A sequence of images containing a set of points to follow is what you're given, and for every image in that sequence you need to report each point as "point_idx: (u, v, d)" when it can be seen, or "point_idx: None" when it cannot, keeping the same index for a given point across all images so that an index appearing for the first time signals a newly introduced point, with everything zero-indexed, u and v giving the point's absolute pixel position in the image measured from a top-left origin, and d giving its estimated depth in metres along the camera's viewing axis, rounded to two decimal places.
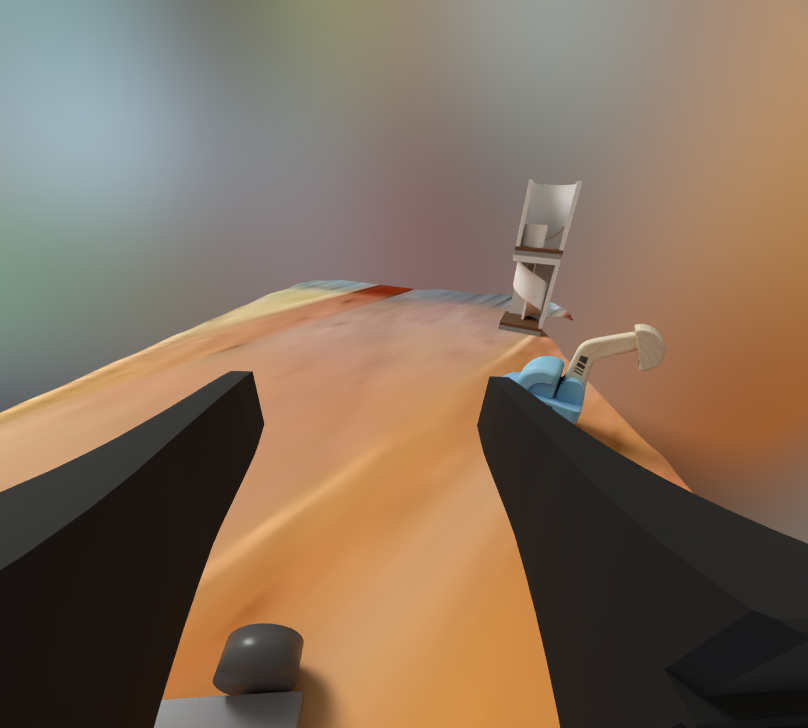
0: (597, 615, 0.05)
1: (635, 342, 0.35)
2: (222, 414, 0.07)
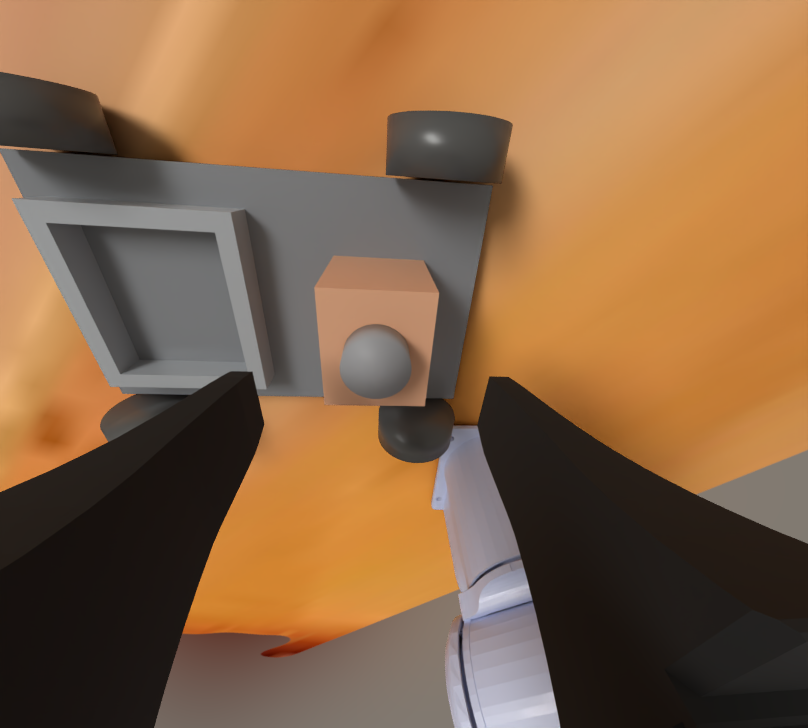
0: (597, 615, 0.05)
1: None
2: (222, 414, 0.07)
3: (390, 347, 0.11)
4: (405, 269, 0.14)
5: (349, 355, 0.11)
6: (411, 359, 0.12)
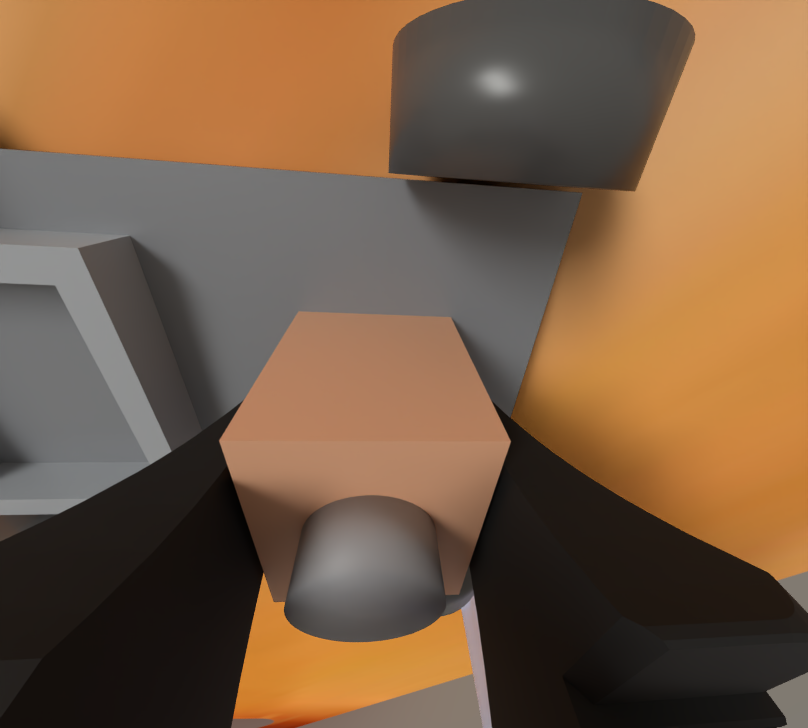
0: (518, 619, 0.05)
1: None
2: None
3: (400, 579, 0.05)
4: (424, 347, 0.07)
5: (304, 597, 0.05)
6: (439, 540, 0.06)
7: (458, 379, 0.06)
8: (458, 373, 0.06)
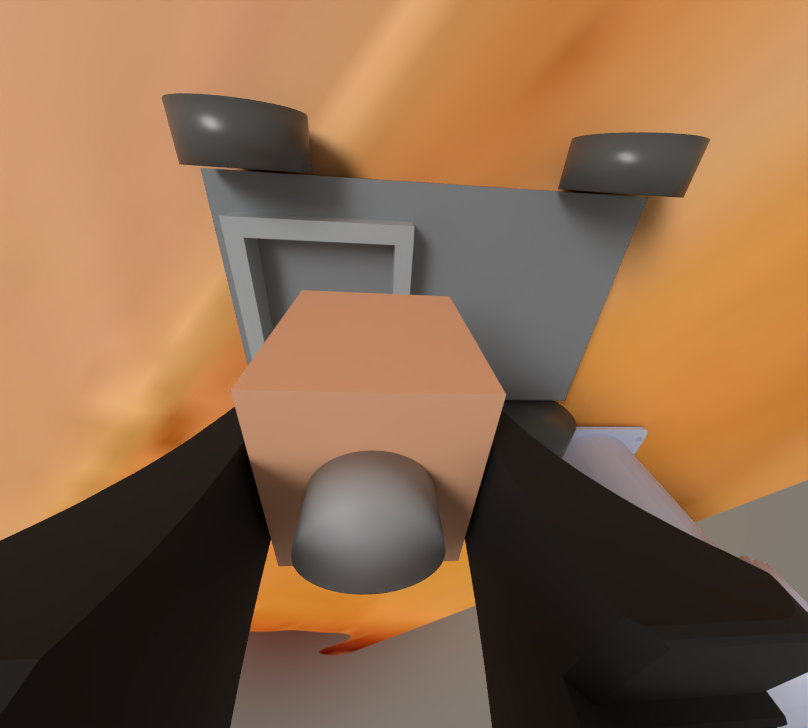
0: (518, 619, 0.05)
1: None
2: None
3: (401, 522, 0.05)
4: (424, 320, 0.08)
5: (310, 540, 0.05)
6: (439, 500, 0.07)
7: (456, 345, 0.07)
8: (456, 341, 0.07)
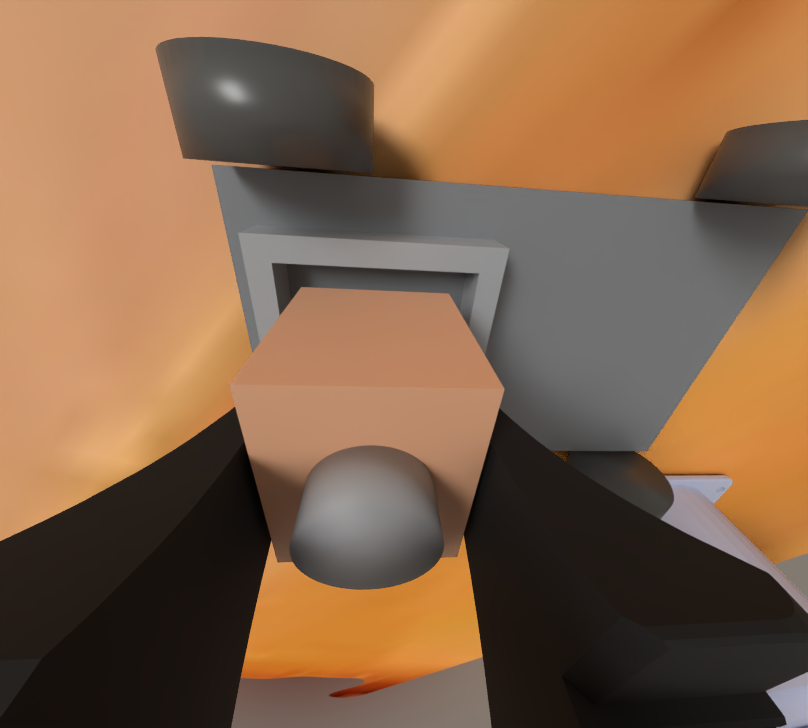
0: (517, 619, 0.05)
1: None
2: None
3: (400, 517, 0.05)
4: (423, 316, 0.08)
5: (308, 534, 0.05)
6: (437, 496, 0.07)
7: (455, 341, 0.07)
8: (455, 337, 0.07)
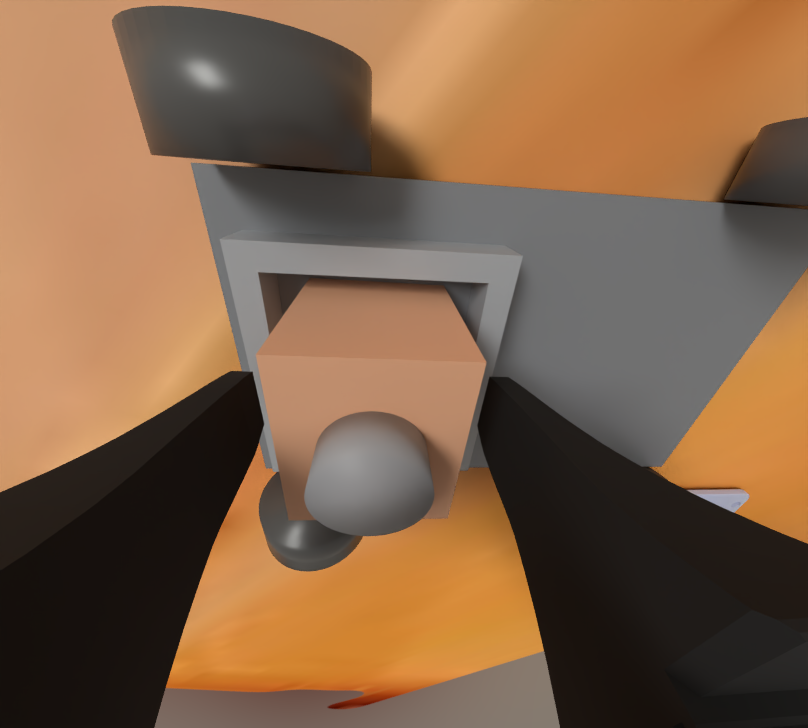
0: (597, 615, 0.05)
1: None
2: (222, 414, 0.07)
3: (397, 466, 0.06)
4: (419, 304, 0.09)
5: (321, 480, 0.06)
6: (430, 460, 0.07)
7: (447, 325, 0.08)
8: (447, 321, 0.08)
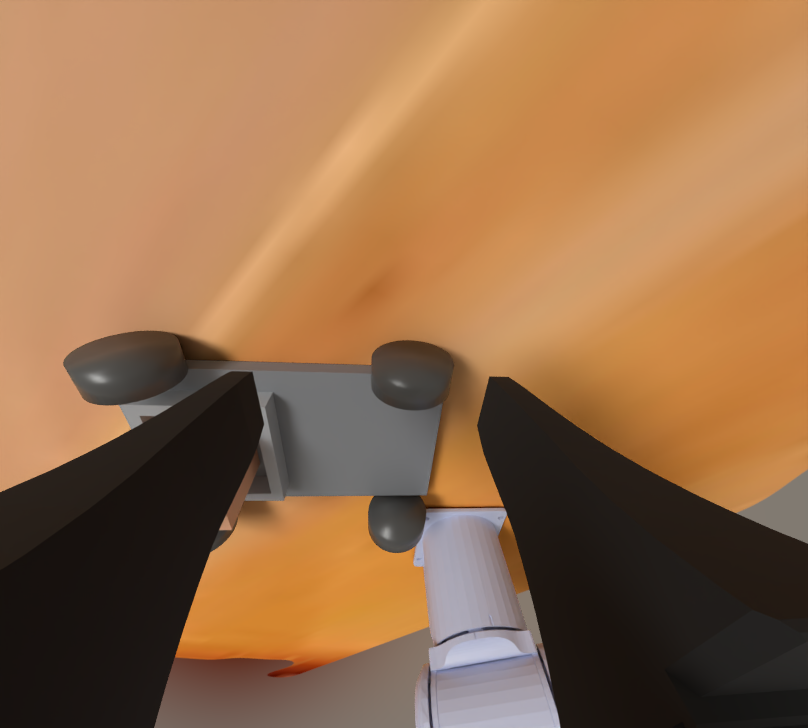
0: (597, 615, 0.05)
1: None
2: (222, 414, 0.07)
3: None
4: None
5: None
6: None
7: None
8: None
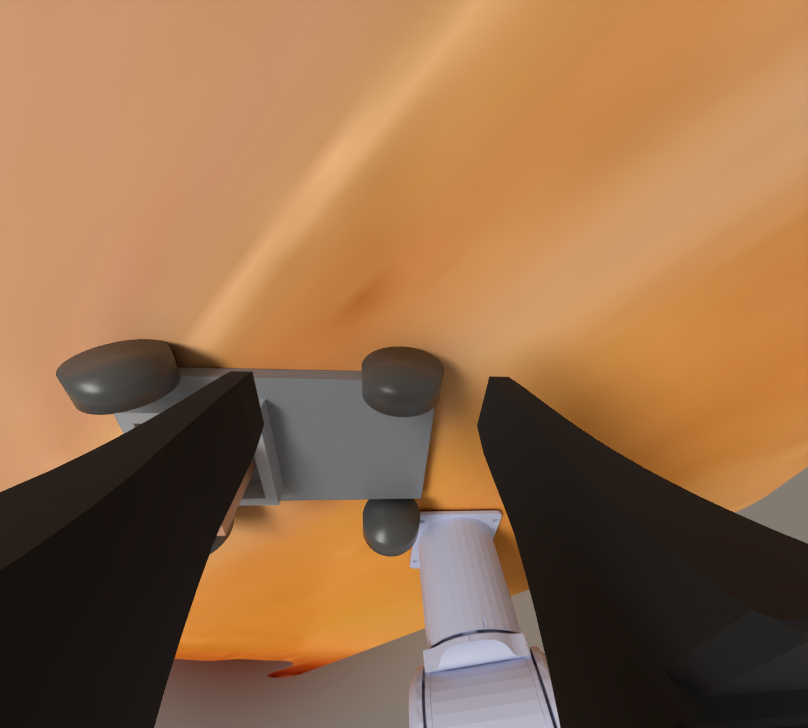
0: (597, 615, 0.05)
1: None
2: (222, 414, 0.07)
3: None
4: None
5: None
6: None
7: None
8: None
